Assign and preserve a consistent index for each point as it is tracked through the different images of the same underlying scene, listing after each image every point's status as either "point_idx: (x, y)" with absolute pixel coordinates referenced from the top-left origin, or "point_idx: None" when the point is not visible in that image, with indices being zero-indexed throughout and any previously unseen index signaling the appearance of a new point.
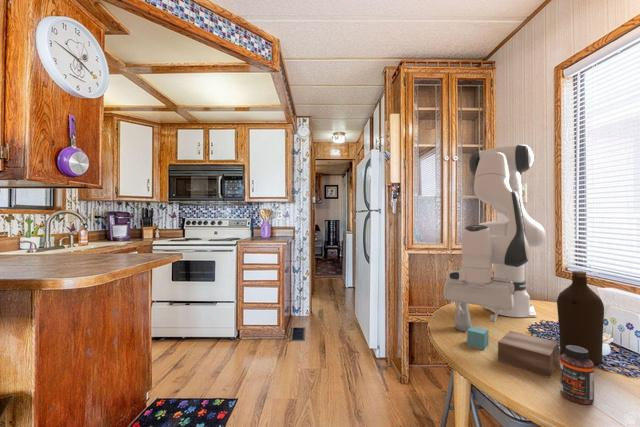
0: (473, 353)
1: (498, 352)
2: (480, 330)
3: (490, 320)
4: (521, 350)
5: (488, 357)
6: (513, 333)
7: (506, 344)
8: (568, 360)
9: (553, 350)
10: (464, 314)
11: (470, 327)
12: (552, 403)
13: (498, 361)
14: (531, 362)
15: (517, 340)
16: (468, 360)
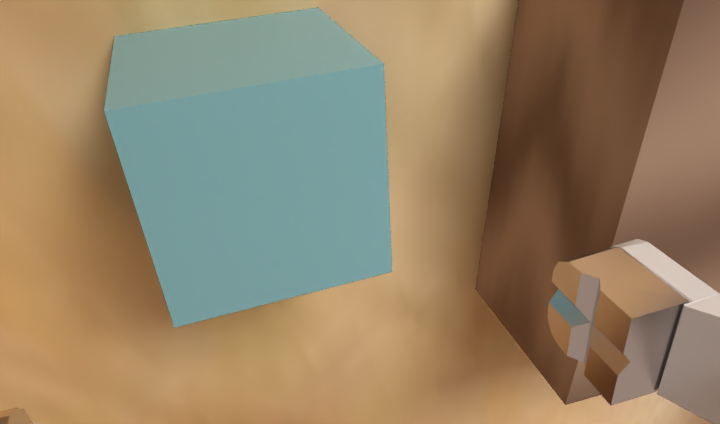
0: (295, 311)
1: (515, 336)
2: (311, 196)
3: (565, 348)
4: None
5: (406, 280)
6: (713, 68)
7: None
8: None
9: None
10: (16, 418)
11: (143, 203)
12: (679, 416)
13: (479, 290)
14: None
15: (716, 248)
16: (318, 416)
